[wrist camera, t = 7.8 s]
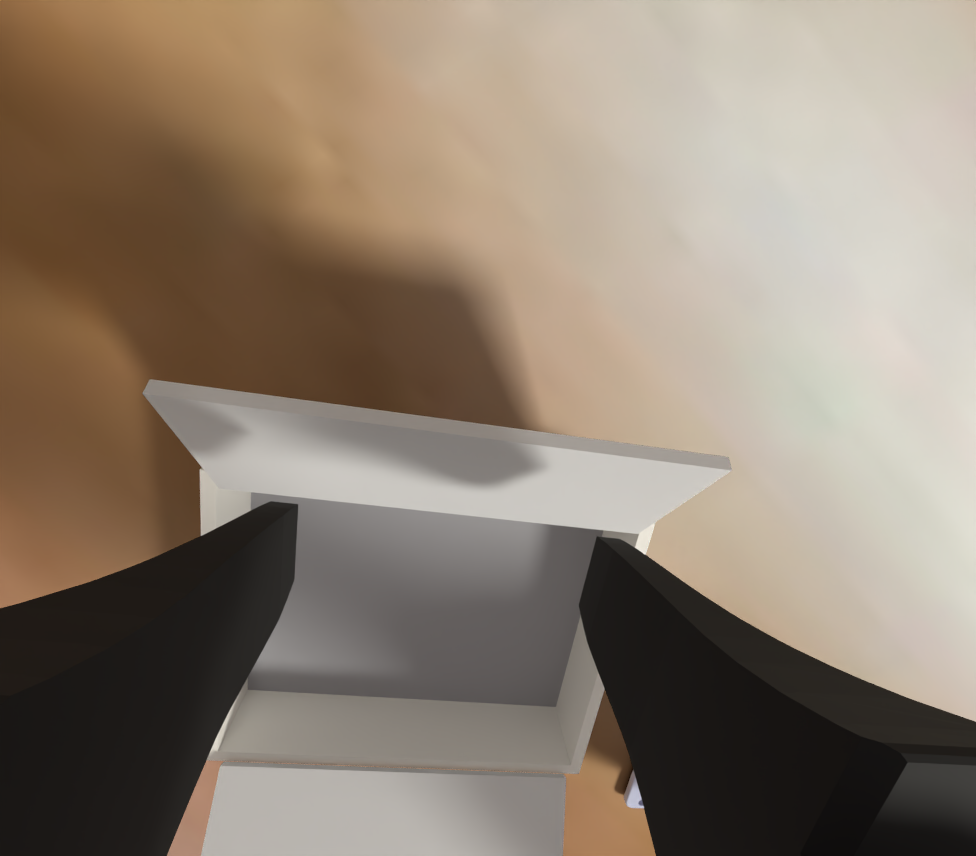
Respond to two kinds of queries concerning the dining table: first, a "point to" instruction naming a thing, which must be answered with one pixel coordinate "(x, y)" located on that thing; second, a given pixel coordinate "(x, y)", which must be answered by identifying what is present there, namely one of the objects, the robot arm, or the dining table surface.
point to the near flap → (427, 461)
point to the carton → (420, 642)
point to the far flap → (383, 812)
